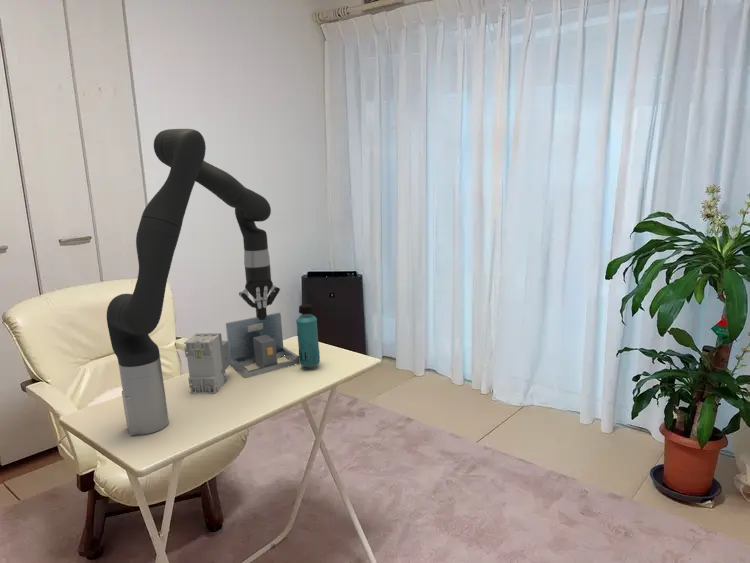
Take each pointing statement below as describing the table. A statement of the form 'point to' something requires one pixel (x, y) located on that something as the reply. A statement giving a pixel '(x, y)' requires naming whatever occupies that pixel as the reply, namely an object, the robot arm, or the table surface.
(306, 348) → the beverage bottle
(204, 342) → the circuit breaker
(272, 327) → the grey frame with backplate
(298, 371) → the table surface
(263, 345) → the block
